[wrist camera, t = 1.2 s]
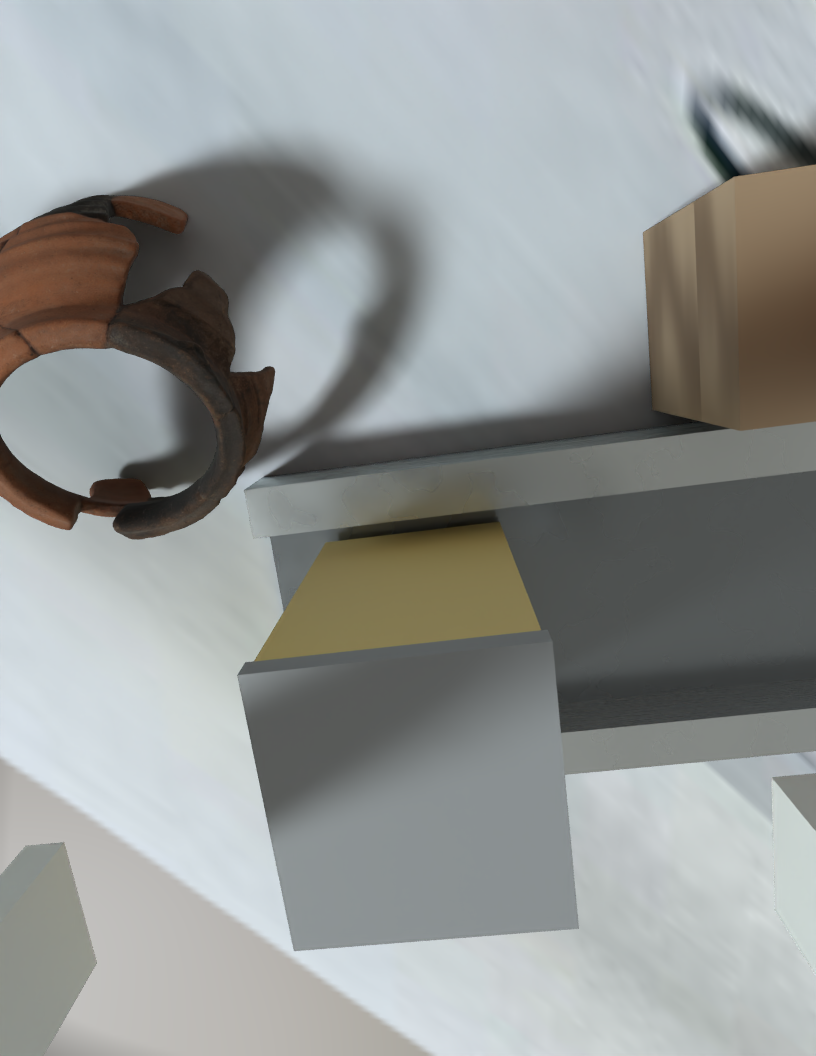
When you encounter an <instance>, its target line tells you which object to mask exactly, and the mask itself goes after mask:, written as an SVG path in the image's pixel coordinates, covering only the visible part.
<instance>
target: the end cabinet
mask: <svg viewBox="0 0 816 1056" xmlns="http://www.w3.org/2000/svg"><path fill="white" fill-rule="evenodd" d="M643 242H644V261H645V280H646V299H647V319H648V338H649V357H650V376H651V395H652V410H655V411H659V412H663V413H667V414H671V415H676V416H680V417H684V418H688V419H692V420H697V421H701V422H705V423H709V424H713V425H718V426H722V427H726V428H730V429H734V430H739V431H744V430H752V429H760V428H768V427H776V426H784V425H792V424H800V423H808V422H816V165H809V166H802V167H796V168H789V169H783V170H776V171H769V172H763V173H756V174H749V175H743V176H736V177H733V178H732V179H730V180H728V181H727V182H725V183H723V184H722V185H720V186H719V187H717V188H715V189H714V190H712V191H710V192H709V193H707V194H705V195H704V196H702V197H701V198H699V199H697V200H696V201H694V202H692V203H691V204H689V205H687V206H686V207H684V208H683V209H681V210H679V211H678V212H676V213H674V214H673V215H671V216H669V217H668V218H666V219H664V220H663V221H661V222H660V223H658V224H656V225H655V226H653V227H651V228H650V229H648V230H646V231H645V232H643Z"/></svg>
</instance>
